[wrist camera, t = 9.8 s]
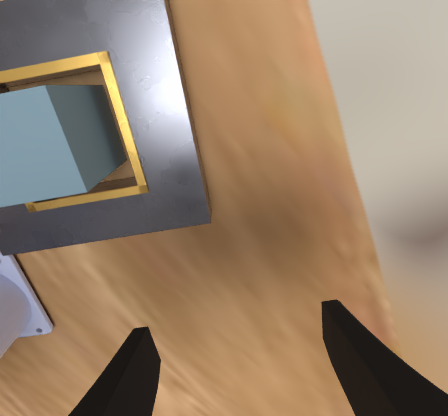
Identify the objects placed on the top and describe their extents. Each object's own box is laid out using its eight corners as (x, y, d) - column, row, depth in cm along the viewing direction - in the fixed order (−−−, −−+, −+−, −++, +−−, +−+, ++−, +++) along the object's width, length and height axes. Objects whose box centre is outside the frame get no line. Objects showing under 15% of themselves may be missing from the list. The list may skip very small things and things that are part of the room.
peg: (60, 171, 18) (-7, 208, 13) (30, 99, 16) (-64, 106, 11) (126, 159, 18) (87, 192, 13) (103, 85, 16) (44, 85, 11)
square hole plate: (22, 240, 20) (0, 257, 18) (-88, 35, 15) (-135, 27, 13) (211, 209, 20) (210, 224, 18) (164, -17, 14) (156, -34, 12)
